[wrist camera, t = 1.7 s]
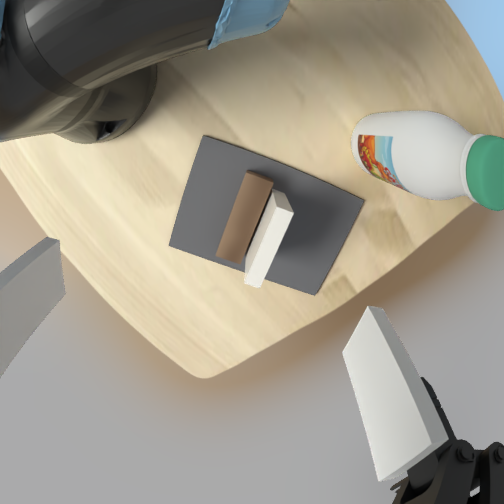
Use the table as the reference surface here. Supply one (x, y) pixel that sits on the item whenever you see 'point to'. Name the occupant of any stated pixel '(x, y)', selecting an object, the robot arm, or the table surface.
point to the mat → (298, 231)
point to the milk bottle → (431, 156)
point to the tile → (267, 237)
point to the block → (244, 216)
